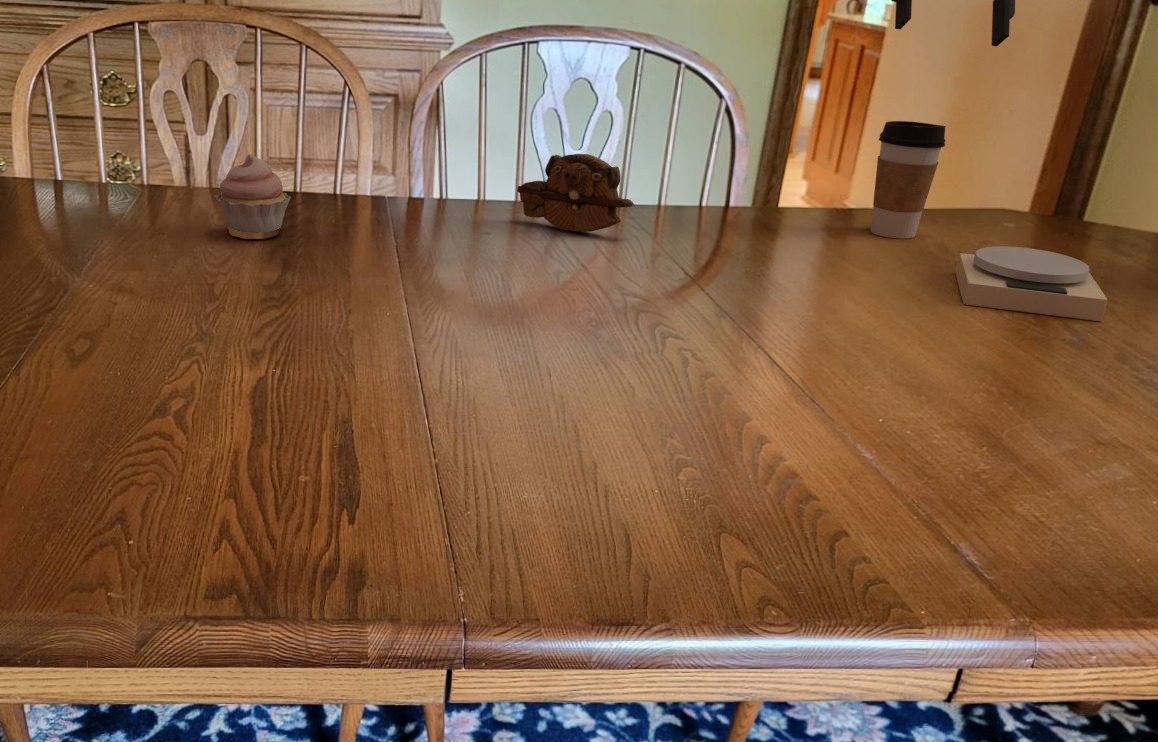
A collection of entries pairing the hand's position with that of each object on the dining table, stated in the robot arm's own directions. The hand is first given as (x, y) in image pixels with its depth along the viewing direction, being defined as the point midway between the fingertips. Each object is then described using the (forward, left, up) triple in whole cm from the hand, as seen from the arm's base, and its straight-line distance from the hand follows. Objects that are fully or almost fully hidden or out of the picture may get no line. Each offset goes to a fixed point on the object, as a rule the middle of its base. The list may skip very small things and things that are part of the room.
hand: (951, 32), depth 145 cm
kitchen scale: (-12, +29, -26) cm, 41 cm away
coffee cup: (+2, +4, -26) cm, 27 cm away
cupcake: (+79, +45, -26) cm, 95 cm away
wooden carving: (+43, +24, -26) cm, 56 cm away
